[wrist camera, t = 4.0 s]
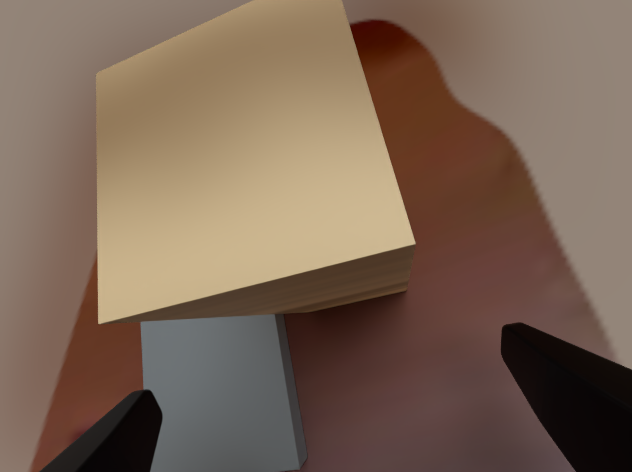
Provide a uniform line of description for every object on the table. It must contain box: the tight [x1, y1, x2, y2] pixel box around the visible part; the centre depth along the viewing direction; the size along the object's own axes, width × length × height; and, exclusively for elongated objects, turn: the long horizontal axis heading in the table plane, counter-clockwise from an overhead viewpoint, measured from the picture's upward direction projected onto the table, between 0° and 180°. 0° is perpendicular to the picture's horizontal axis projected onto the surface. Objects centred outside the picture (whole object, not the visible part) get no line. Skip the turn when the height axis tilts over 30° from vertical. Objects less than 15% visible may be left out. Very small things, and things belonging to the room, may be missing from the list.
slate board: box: [141, 314, 308, 472], centre depth 17 cm, size 14×8×1 cm, turn 12°
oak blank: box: [96, 0, 415, 324], centre depth 11 cm, size 5×5×12 cm
